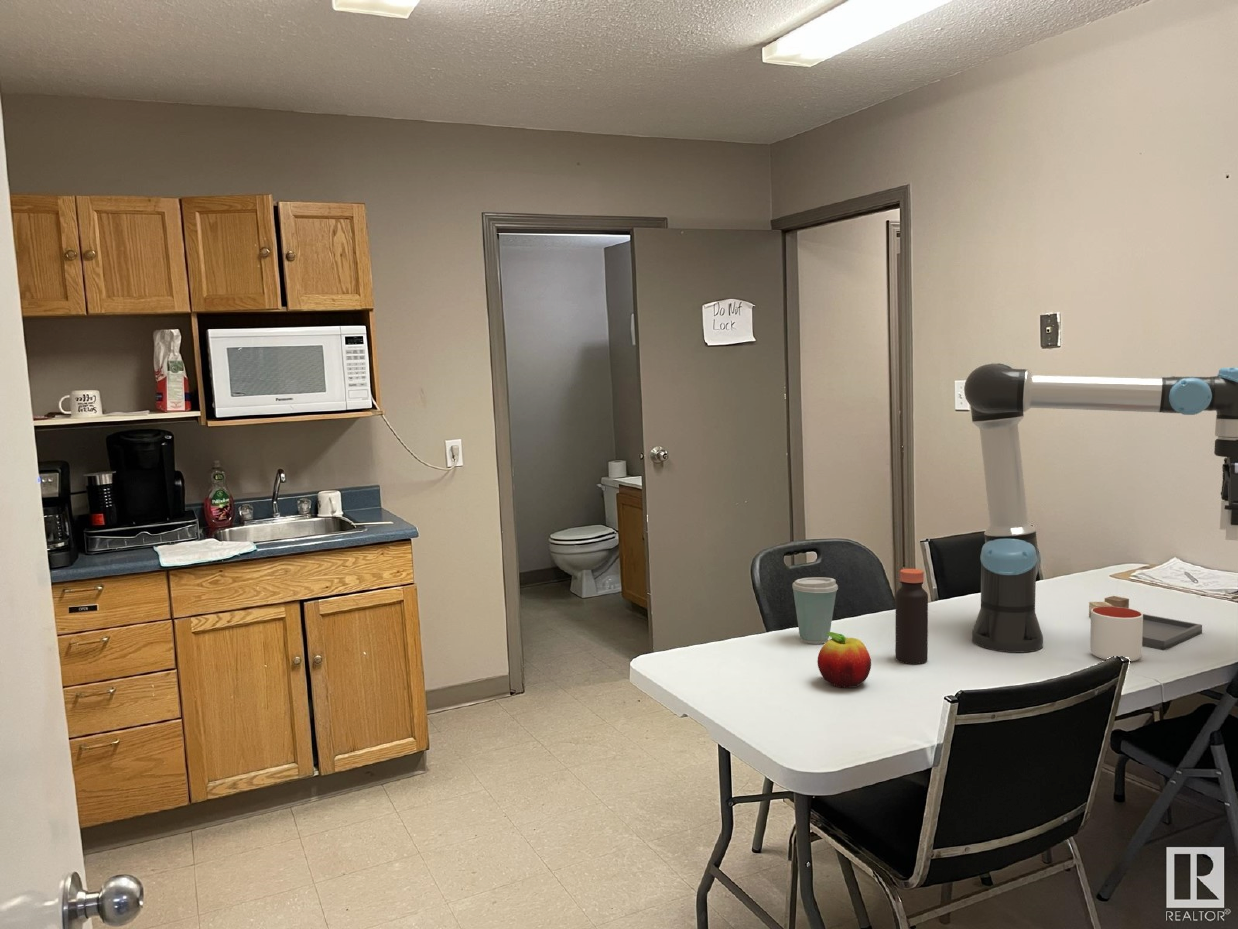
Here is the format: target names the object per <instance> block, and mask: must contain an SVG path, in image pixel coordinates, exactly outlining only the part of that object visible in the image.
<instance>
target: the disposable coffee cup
mask: <svg viewBox="0 0 1238 929" xmlns="http://www.w3.org/2000/svg"><path fill="white" fill-rule="evenodd" d="M791 587H792V590H793V597H794V598H793V599H794V605H795V612H796V620H797V626H798V634H799V637H800V640H801V642H803V643H806V644H814V645H816V644H817V645H820V644H825V643H826V642H827V641H829V638H830V636H828V635H827V633H828V632H831V629H832V628H831V627H832V621H833V617H834V616H833V615H834V609H835V603H836V597H837V596H836V594H837V590H839V586H838V584H837V583H836V579H834V578H832V577H819V576H818V577H816V576H815V577H814V576H813V577H803V578H798V579H796V580H794V582H792V586H791Z"/></svg>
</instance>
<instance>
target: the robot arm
mask: <svg viewBox="0 0 1238 929" xmlns="http://www.w3.org/2000/svg"><path fill="white" fill-rule="evenodd" d="M963 391H964V392H963V394H964V396H965V399H966V401H967V403H968V405H969V406H970V413H971V422H972V424H974V425H975V426H976V427H977V428H978V429H979V433H980V434H979V435H980V436H979V437H980V442H981V443H980V444H981V452H982V453H981V454H982V460H983V462H982V463H983V472H984V480H985V489H986V490H985V491H986V500H987V509H988V510H987V512H988V517H989V519H988V520H989V526H988V527H987V529H986V530H985V531H984V532H983V533H984V544H983V545H982V548H981V552H980V557H979V558H980V564H981V567H980V568H981V569H980V570H981V571H980V572H981V573H980V609H979V612H978V614H977V617H976V620H975V622H974V625H973V628H972V632H971V635H972V636H971V639H972V642H973V643H974V644H975V645H977V646H978V647H979V646H980V647H982V648H985V649H989V650H992V651H993V650H994V651H998V652H1005V653H1006V652H1008V653H1009V652H1010V653H1028V652H1033V651H1038V650H1041V649H1042V648H1043V647H1044V636H1043V633H1042V630H1041V627H1040V626H1041V625H1040V623H1039V621H1038V616H1037V614H1036V586H1037V585H1036V584H1037V581H1036V580H1037V575H1038V573H1039V570H1040V568H1041V563H1042V556H1041V552H1040V550H1039V547H1038V540H1037V539H1038V537H1037V530H1036V528H1035V527H1034V526H1033V525H1032V524H1030V523H1029V520H1028V510H1027V501H1026V500H1027V499H1026V498H1027V497H1026V492H1025V491H1026V490H1025V480H1024V472H1023V464H1022V463H1023V462H1022V452H1021V443H1020V442H1021V440H1020V433H1019V423H1020V422H1021V421H1022V420H1023V419H1024V416H1025V415H1024V414H1025V413H1026V412H1027V411H1029V410H1030V409H1054V410H1055V409H1056V410H1057V409H1058V410H1059V409H1060V410H1083V411H1084V410H1085V411H1086V410H1087V411H1088V410H1089V411H1110V412H1111V411H1113V412H1135V413H1139V412H1140V413H1162V414H1182V415H1184V416H1186V415H1187V416H1193V415H1198V414H1201V413H1202V412H1203V411H1204V412H1205V411H1208V412H1214V411H1216V416H1215V427H1214V435H1215V437H1217V438H1216V439H1215V440H1214V452H1213V453H1214V456H1217V457H1221V458H1224V459H1223V463H1222V468H1221V470H1222V483H1221V491H1220V495H1221V498H1220V499H1221V502H1220V519H1219V520H1220V521H1219V530H1225V540H1226V541H1238V367H1233V366H1232V367H1221V368H1219V370H1218V373H1217V375H1216V376H1173V375H1171V376H1163V377H1162V376H1128V375H1127V376H1126V375H1125V376H1124V375H1122V376H1121V375H1094V374H1093V375H1087V374H1085V375H1084V374H1043V373H1033V372H1032V371H1030V370H1029V369H1026V368H1024V369H1022V368H1012V367H1011V366H1009V365H1007V364H1005V363H999V362H997V363H993V362H992V363H988V364H984V365H980V366H978V367H976V368H975V369H974V370H972V371H971V372H970V374H968V376H967V377H966V380H965V382H964V388H963Z"/></svg>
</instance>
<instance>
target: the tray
mask: <svg viewBox="0 0 1238 929" xmlns="http://www.w3.org/2000/svg"><path fill="white" fill-rule="evenodd" d="M1142 614H1143V633H1142V647H1147V648H1152V649H1157V650H1162V651H1164V650H1168V649H1170V648H1172V647H1174V646H1176V645H1179V644H1181V643H1183V642H1185V641H1187V640H1190V639H1192V638H1194V637H1196V636H1199V635H1200V634H1202V633H1203V624H1200V623H1195V622H1189V621H1183V620H1179V619H1173V618H1168V617H1163V616H1156V615H1152V614H1146V613H1142Z"/></svg>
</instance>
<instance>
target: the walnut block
mask: <svg viewBox="0 0 1238 929" xmlns="http://www.w3.org/2000/svg"><path fill="white" fill-rule="evenodd" d="M1104 602H1107V603H1109V604H1111V605H1112V606H1113V607H1123V608H1129V609H1130V604H1129V603H1130V598H1126V597H1121V596H1117V595H1112V596H1108V597H1107V596H1106V597H1104Z"/></svg>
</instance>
